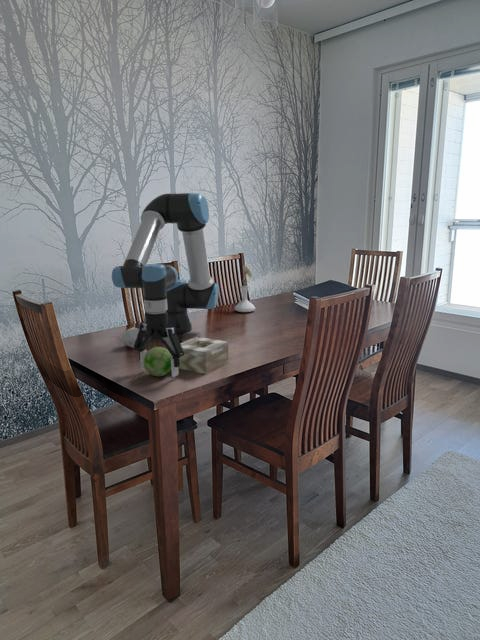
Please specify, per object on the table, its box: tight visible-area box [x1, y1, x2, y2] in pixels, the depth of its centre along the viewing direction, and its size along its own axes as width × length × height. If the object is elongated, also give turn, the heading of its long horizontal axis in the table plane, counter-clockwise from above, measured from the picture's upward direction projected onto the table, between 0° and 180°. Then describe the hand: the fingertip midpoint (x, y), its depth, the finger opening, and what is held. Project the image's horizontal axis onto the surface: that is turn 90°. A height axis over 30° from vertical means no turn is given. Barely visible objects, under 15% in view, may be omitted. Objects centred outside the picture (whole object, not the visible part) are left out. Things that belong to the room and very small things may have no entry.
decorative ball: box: [144, 346, 172, 377], centre depth 157 cm, size 10×10×10 cm
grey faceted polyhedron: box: [123, 326, 145, 349], centre depth 191 cm, size 8×9×10 cm
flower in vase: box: [234, 265, 256, 313], centre depth 251 cm, size 13×11×25 cm
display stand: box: [178, 336, 229, 375], centre depth 167 cm, size 14×14×8 cm
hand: (159, 372), depth 158 cm, fingers open, 13 cm apart
